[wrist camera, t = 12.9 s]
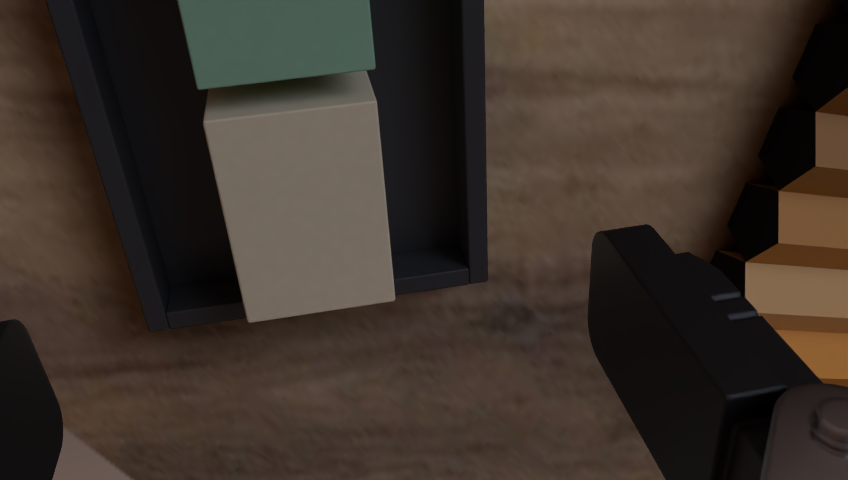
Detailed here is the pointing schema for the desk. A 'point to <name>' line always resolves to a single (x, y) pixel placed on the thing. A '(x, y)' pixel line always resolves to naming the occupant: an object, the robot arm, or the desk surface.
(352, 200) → the beige pad
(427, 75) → the tray
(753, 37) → the desk surface
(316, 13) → the sage pad
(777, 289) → the pan flute
